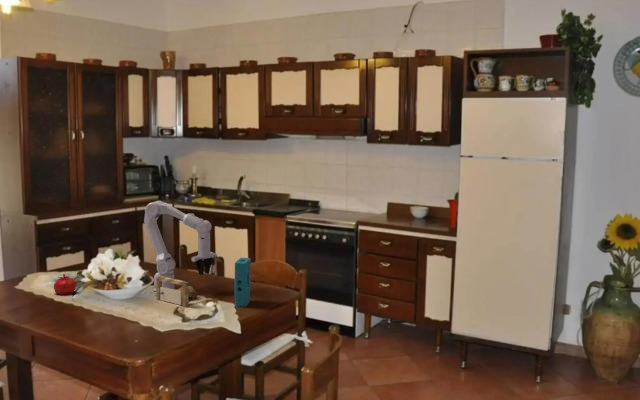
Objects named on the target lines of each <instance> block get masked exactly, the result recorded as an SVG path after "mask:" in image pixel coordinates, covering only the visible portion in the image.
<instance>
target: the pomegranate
mask: <svg viewBox="0 0 640 400" xmlns="http://www.w3.org/2000/svg"><path fill="white" fill-rule="evenodd" d="M77 285H78V283H77V281H76V280H75V279H74V278H73V277H72V276H70V275H69V276H67V277H66V274H65V273H63V274H62V277H61V276H59V277H57V280H56V281H55V282H54V284H53V290H54V292H55V294H56V295H71V294H73V293H75V291H76V290H77ZM74 290H75V291H74Z"/></svg>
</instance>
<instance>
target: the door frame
mask: <svg viewBox="0 0 640 400" xmlns="http://www.w3.org/2000/svg"><path fill="white" fill-rule="evenodd" d="M162 281H165V282H169V283H173V284H174V285H177V286H181V287H182V286H183V305H182V307H183V308H187V307H189V301H188V286H189V281H185V280H181V279H176V278H174V279H172V278H168V277H163V276H156V291H155V293H156V301H161V300H160V287H162Z"/></svg>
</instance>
